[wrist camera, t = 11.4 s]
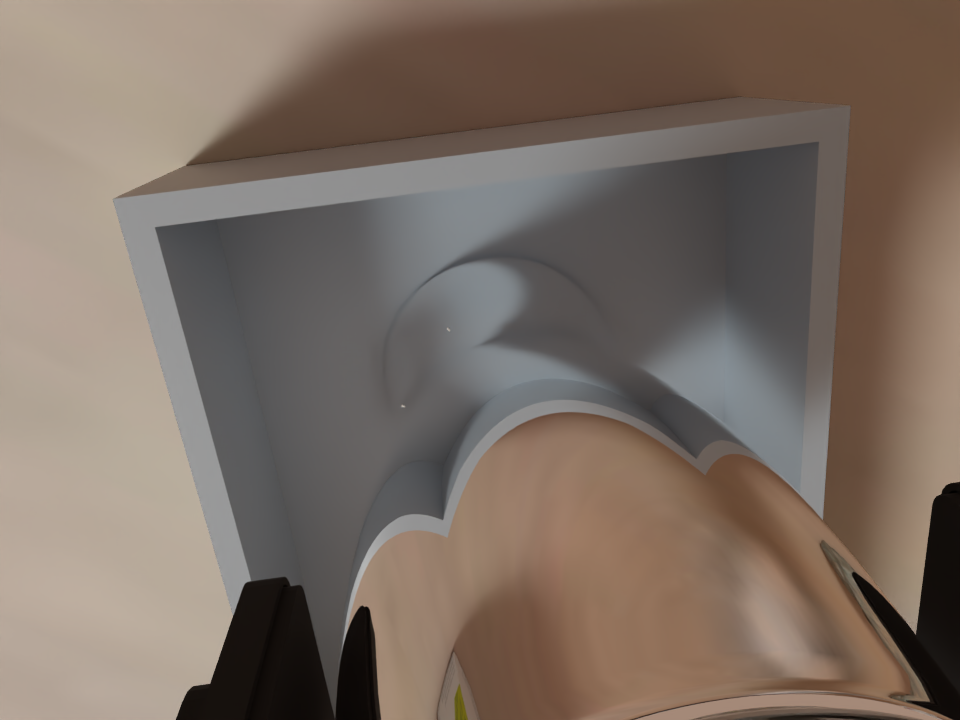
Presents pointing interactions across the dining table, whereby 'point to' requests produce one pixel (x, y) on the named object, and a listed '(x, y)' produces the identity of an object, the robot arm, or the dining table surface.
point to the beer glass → (594, 541)
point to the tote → (464, 237)
